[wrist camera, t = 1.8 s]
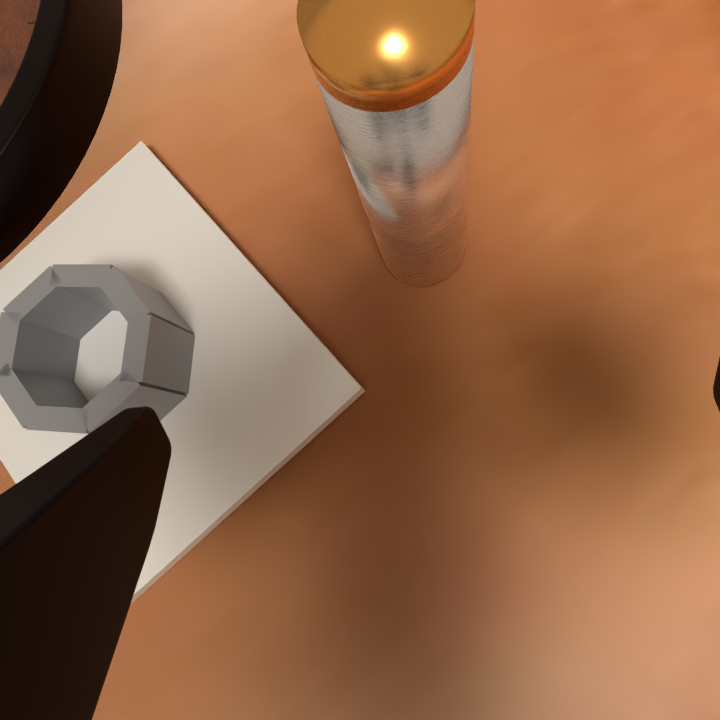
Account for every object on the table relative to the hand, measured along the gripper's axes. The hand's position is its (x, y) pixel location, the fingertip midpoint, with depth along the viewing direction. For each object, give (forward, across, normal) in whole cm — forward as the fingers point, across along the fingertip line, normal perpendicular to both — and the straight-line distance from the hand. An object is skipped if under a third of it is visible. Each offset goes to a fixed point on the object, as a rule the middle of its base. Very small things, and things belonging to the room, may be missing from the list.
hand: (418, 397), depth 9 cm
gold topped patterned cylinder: (+15, 0, +4) cm, 16 cm away
